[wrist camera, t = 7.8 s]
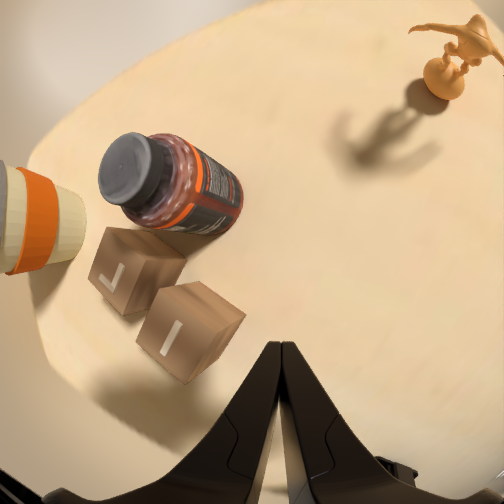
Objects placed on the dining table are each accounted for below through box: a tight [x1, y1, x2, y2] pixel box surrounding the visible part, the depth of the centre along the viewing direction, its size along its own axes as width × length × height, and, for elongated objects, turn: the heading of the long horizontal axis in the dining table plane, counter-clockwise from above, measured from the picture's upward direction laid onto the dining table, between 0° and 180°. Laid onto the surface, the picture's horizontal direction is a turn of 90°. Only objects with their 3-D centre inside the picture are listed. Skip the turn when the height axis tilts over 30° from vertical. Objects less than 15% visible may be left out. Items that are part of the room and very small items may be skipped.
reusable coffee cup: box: [0, 160, 87, 275], centre depth 22 cm, size 12×12×15 cm
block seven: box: [88, 227, 188, 316], centre depth 22 cm, size 5×5×6 cm
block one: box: [136, 281, 246, 385], centre depth 20 cm, size 5×5×6 cm
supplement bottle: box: [98, 132, 243, 235], centre depth 18 cm, size 6×6×11 cm
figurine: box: [408, 14, 504, 100], centre depth 11 cm, size 8×6×12 cm
